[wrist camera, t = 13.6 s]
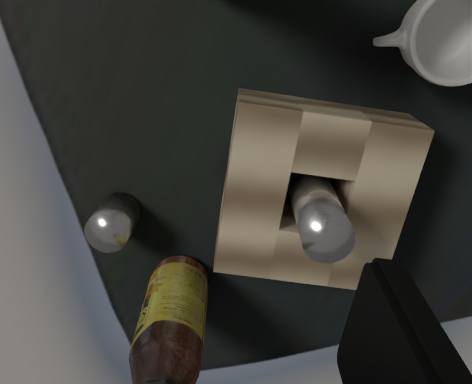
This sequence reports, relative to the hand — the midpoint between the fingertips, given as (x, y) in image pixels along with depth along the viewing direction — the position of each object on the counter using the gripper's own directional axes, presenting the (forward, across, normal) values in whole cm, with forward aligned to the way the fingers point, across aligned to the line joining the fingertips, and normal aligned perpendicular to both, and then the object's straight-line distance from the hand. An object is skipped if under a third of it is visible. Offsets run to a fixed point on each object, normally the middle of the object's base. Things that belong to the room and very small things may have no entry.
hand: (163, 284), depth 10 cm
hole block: (+32, -10, +9) cm, 35 cm away
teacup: (+32, -17, -6) cm, 37 cm away
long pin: (+32, -10, +9) cm, 35 cm away
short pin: (+32, +8, +15) cm, 36 cm away
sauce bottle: (+32, +1, +22) cm, 39 cm away
